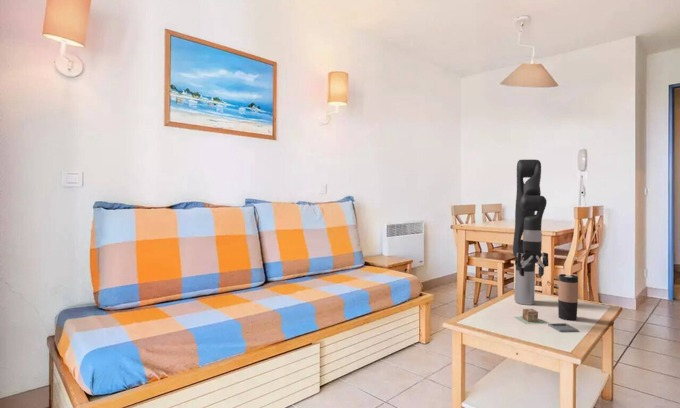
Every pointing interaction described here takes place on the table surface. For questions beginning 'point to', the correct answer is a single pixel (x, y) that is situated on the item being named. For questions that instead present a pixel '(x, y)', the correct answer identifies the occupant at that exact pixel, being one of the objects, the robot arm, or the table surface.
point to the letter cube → (530, 315)
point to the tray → (563, 327)
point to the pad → (530, 322)
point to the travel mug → (568, 297)
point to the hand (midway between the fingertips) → (531, 275)
